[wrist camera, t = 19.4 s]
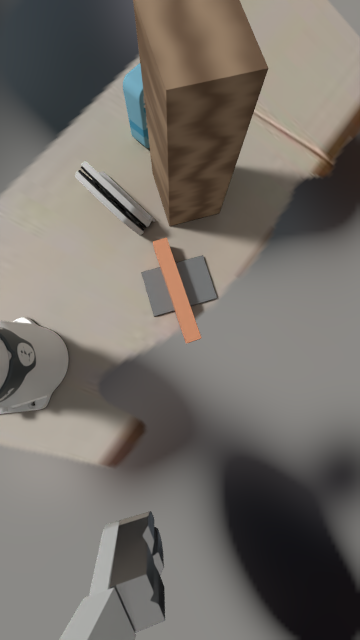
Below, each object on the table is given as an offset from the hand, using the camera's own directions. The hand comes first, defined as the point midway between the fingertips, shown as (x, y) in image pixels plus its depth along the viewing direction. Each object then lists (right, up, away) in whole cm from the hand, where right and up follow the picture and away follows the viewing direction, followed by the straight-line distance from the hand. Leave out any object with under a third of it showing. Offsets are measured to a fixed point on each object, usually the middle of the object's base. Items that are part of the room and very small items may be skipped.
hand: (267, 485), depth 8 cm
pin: (-4, +12, +39) cm, 41 cm away
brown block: (-2, +35, +43) cm, 56 cm away
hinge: (-17, +31, +42) cm, 55 cm away
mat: (-3, +13, +40) cm, 42 cm away
